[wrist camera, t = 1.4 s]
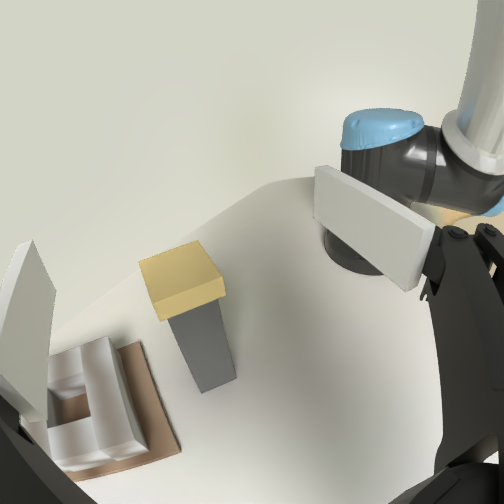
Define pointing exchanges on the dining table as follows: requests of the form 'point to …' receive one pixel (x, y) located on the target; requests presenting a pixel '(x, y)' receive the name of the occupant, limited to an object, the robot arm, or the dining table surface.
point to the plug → (192, 310)
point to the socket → (102, 412)
